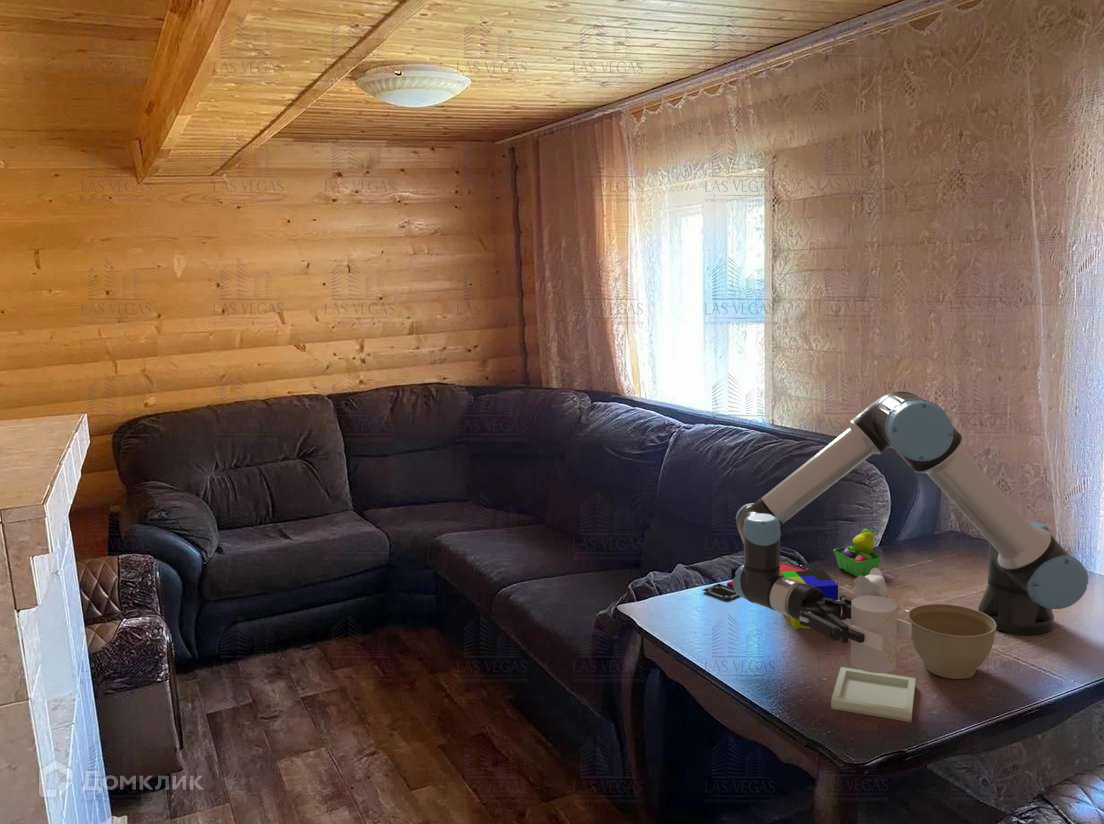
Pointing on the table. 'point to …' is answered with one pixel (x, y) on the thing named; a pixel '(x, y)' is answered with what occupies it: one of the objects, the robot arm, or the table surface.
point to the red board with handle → (729, 591)
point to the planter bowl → (951, 638)
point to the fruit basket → (858, 555)
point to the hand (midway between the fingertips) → (896, 636)
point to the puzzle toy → (816, 580)
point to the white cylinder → (880, 620)
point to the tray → (874, 694)
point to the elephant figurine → (871, 584)
